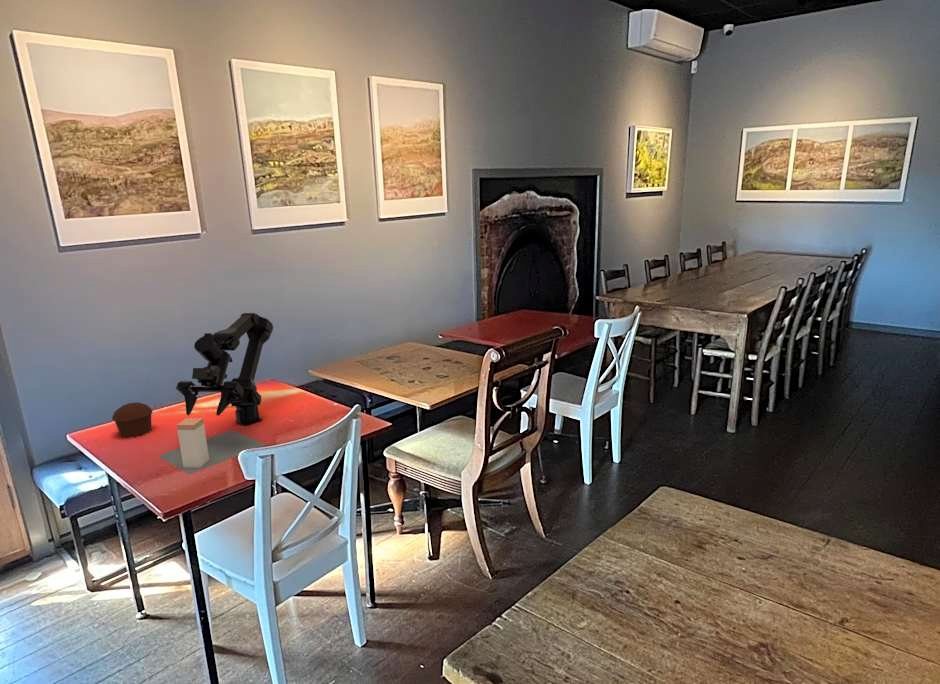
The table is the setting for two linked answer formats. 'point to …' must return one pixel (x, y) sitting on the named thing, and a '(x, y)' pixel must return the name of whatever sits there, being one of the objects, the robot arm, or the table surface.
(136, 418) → the muffin
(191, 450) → the cream block
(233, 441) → the charcoal mat
